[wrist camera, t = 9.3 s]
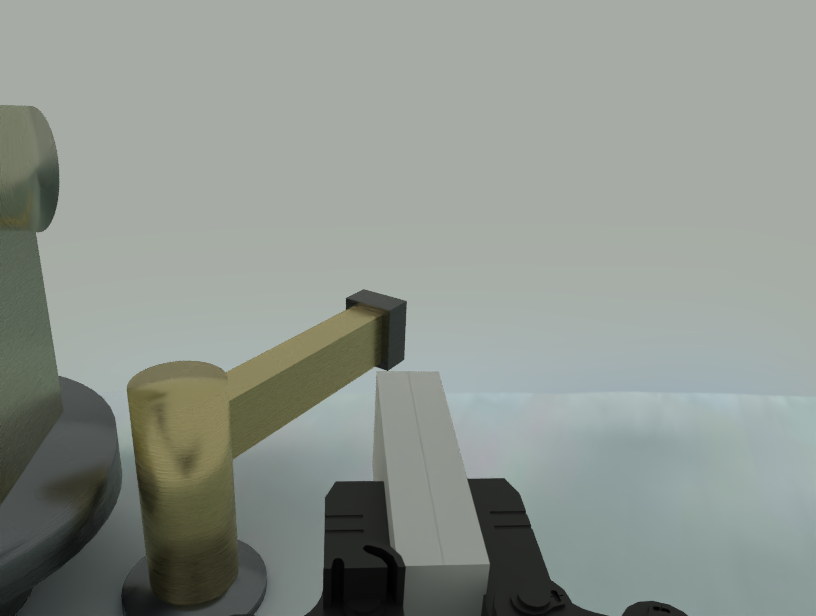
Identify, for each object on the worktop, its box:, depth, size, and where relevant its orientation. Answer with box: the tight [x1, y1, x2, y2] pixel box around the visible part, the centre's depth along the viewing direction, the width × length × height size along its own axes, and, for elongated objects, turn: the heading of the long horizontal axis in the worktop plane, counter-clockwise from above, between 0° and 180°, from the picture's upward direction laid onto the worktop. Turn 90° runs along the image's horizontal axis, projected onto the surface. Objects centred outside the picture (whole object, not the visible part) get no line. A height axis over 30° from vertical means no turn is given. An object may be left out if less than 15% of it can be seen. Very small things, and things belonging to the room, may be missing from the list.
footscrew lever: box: [127, 290, 407, 605], centre depth 31 cm, size 14×3×8 cm, turn 148°
